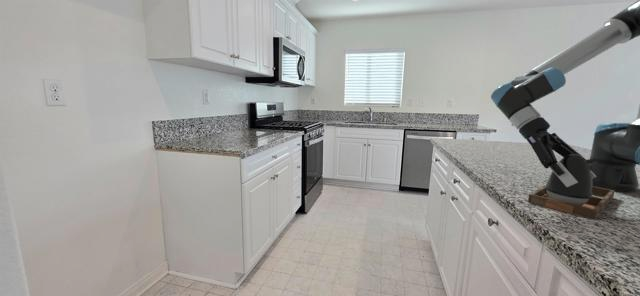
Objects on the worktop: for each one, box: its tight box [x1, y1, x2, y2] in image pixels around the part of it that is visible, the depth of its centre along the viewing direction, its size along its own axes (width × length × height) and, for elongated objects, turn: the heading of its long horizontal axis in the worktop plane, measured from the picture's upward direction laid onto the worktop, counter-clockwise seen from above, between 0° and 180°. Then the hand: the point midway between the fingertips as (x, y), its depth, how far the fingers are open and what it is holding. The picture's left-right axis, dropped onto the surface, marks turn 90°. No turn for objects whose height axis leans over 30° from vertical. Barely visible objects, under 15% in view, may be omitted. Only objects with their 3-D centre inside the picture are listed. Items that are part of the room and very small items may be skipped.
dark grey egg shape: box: [546, 154, 597, 206], centre depth 79 cm, size 10×10×15 cm
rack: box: [527, 184, 616, 221], centre depth 84 cm, size 29×15×2 cm, turn 126°
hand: (582, 181), depth 77 cm, fingers open, 12 cm apart
